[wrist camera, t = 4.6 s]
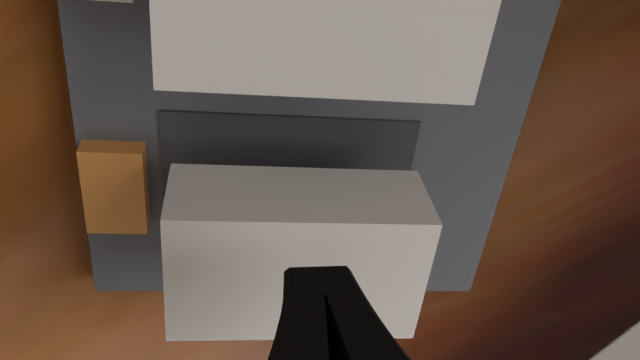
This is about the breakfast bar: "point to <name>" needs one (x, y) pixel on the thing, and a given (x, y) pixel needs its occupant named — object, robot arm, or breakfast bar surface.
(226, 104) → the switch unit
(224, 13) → the button
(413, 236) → the button
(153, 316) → the breakfast bar surface
